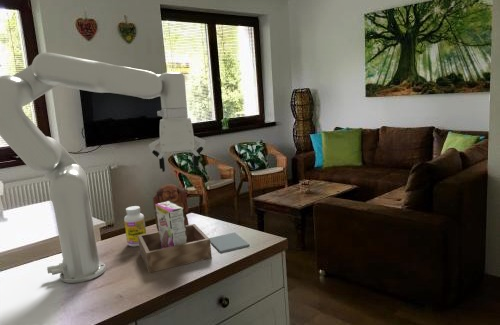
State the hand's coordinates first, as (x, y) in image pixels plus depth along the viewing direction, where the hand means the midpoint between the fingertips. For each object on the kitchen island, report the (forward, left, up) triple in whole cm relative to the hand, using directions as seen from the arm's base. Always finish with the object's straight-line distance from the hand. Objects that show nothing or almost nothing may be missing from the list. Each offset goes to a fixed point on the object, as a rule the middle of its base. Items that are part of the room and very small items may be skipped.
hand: (179, 169), depth 128 cm
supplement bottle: (-14, +17, -27) cm, 35 cm away
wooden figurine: (0, +21, -27) cm, 35 cm away
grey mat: (+13, -1, -27) cm, 30 cm away
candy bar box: (-5, -1, -27) cm, 27 cm away
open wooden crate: (-5, -1, -27) cm, 27 cm away
